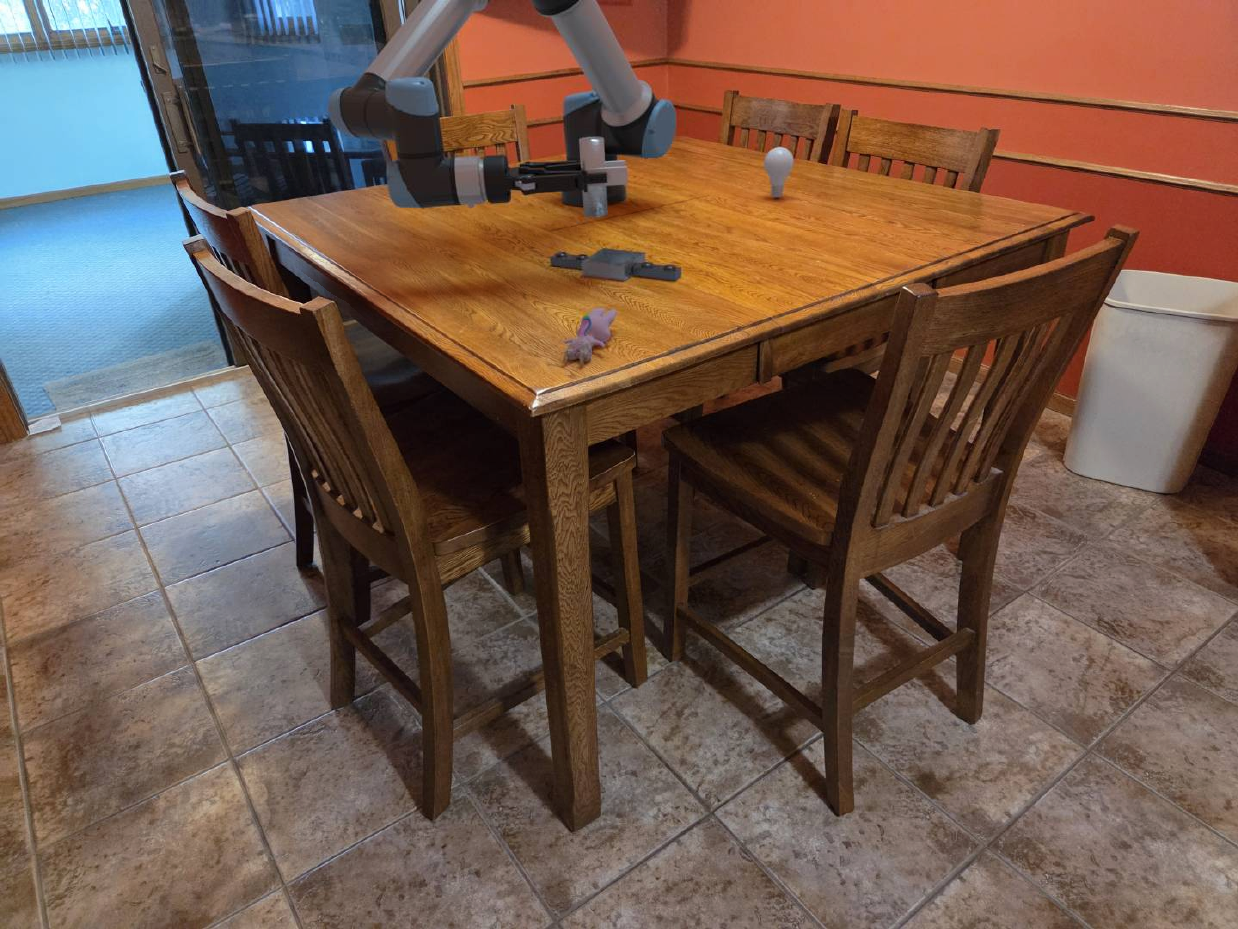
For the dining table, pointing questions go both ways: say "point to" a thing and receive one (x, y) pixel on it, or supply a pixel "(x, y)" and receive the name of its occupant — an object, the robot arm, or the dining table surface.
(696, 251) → the dining table surface
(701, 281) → the dining table surface
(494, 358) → the dining table surface
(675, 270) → the grey mounting bracket
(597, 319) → the purple toy figure
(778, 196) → the lightbulb
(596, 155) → the pin
